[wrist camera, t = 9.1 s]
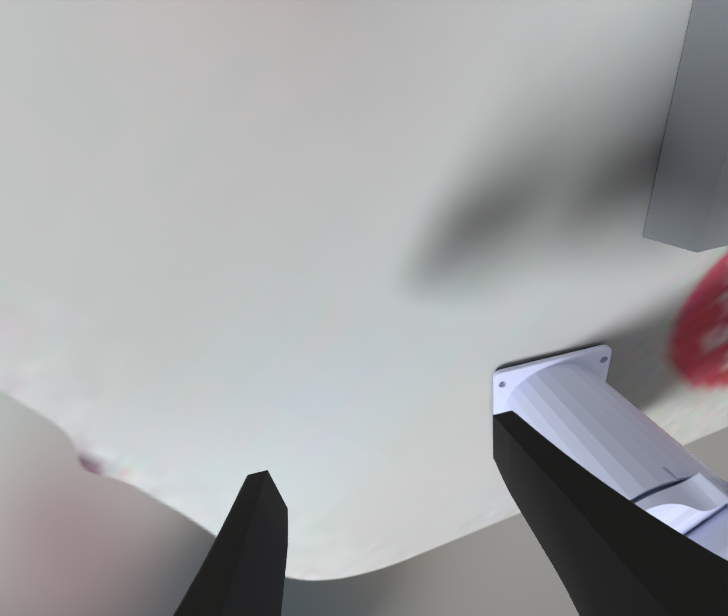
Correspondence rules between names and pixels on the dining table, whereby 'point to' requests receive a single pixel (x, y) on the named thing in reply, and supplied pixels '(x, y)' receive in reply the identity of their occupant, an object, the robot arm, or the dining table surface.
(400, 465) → the dining table surface
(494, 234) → the dining table surface
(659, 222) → the slate base
